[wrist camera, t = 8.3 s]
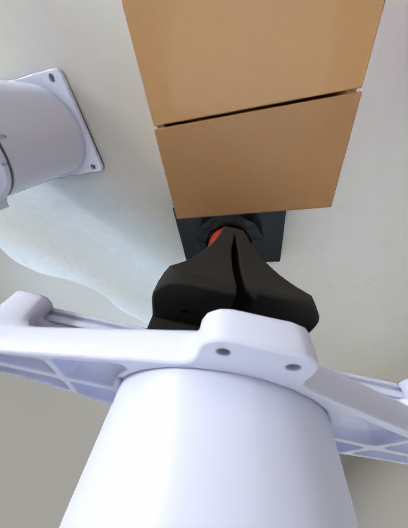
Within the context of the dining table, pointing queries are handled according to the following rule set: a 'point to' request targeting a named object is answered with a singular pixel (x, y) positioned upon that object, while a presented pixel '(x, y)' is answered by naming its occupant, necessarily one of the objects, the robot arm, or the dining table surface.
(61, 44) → the dining table surface
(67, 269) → the dining table surface
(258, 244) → the block
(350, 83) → the flap
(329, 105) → the carton
